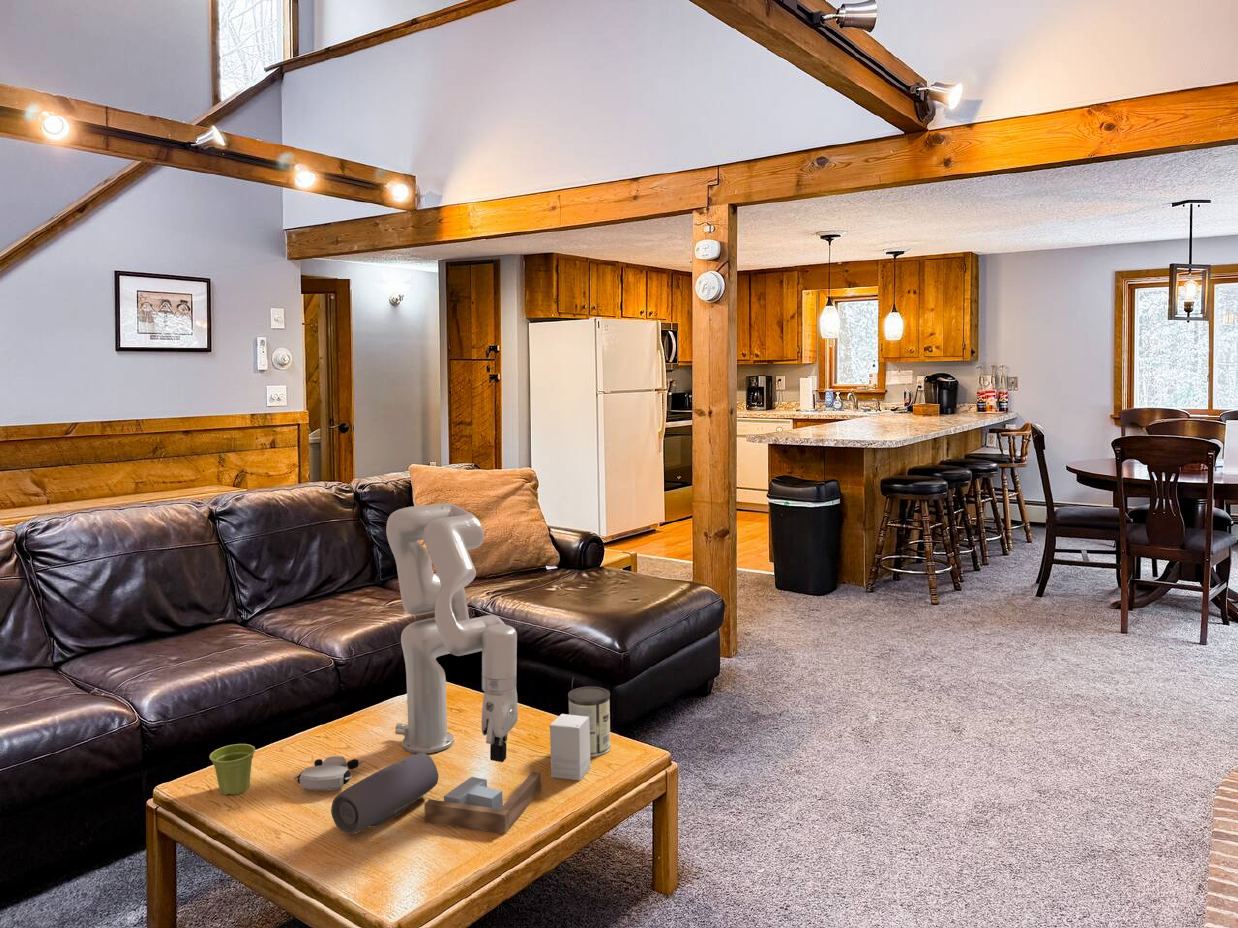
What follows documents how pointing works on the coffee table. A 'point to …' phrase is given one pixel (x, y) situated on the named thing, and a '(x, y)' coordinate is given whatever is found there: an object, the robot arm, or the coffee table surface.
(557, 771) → the supplement box
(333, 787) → the robot toy
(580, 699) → the coffee can
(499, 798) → the tee block
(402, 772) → the bluetooth speaker
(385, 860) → the coffee table surface
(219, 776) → the plant pot
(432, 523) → the robot arm
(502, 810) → the walnut fence
